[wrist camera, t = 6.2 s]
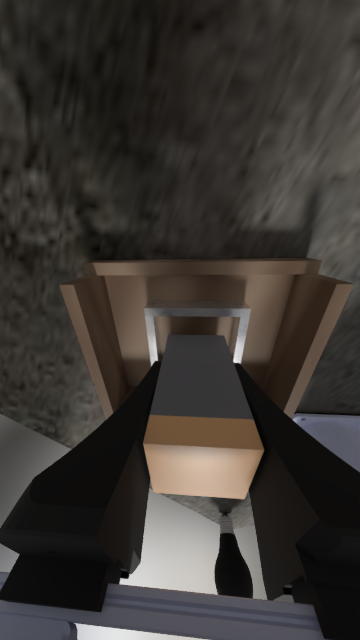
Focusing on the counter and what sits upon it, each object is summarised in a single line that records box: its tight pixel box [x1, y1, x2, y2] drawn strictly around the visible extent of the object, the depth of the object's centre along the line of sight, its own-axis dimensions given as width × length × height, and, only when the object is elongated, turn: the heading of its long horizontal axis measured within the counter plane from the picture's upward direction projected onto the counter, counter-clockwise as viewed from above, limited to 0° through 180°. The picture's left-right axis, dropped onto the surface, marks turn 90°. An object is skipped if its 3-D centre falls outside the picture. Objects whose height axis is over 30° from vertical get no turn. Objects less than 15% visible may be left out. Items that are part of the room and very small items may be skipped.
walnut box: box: [59, 258, 354, 419], centre depth 13 cm, size 15×13×4 cm
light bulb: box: [215, 513, 253, 599], centre depth 28 cm, size 6×6×10 cm
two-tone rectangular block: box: [143, 334, 264, 499], centre depth 9 cm, size 4×4×7 cm
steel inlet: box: [144, 301, 251, 366], centre depth 13 cm, size 7×7×2 cm
